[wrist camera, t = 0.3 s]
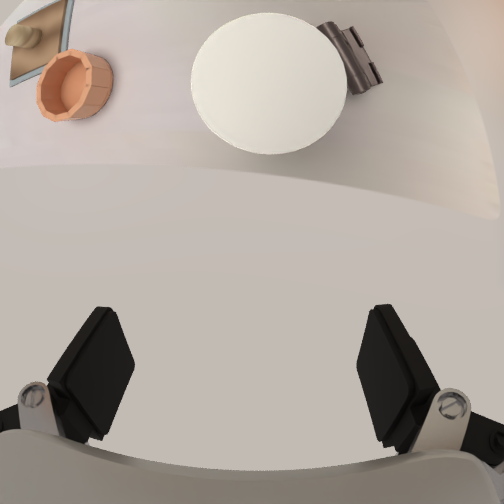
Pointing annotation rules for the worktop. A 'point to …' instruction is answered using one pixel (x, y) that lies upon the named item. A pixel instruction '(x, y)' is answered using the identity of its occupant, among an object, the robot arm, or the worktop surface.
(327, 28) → the portable electronic device stand
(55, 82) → the terracotta bowl
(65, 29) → the slate mat
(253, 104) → the cylindrical container
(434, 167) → the worktop surface
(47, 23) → the square wooden lid
